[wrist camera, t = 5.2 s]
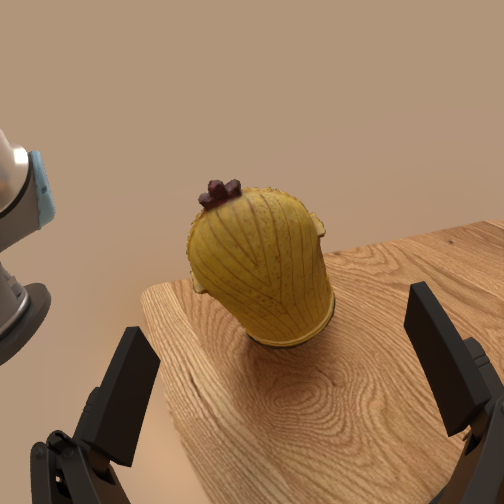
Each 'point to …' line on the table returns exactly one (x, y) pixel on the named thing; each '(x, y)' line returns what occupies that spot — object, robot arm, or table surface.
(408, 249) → the table surface
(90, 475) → the robot arm
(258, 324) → the yellow ribbed rounded piece
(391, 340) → the table surface
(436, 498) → the shoe mat
